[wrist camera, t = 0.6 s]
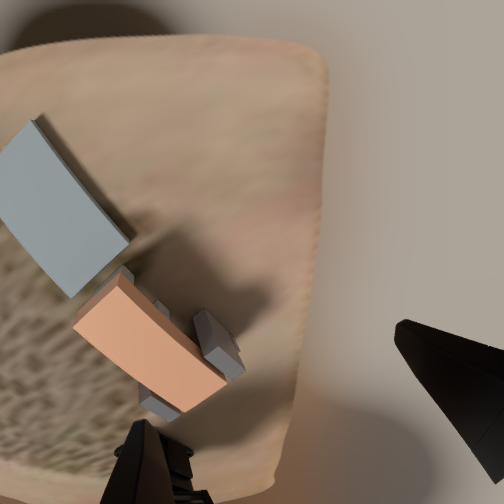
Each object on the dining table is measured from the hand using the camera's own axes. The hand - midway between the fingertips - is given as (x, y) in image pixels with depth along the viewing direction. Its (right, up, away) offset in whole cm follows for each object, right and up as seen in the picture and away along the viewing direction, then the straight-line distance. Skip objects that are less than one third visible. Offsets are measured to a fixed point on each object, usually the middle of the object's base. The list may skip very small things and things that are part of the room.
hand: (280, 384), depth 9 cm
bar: (-7, -2, +10) cm, 13 cm away
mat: (-14, +7, +8) cm, 18 cm away
